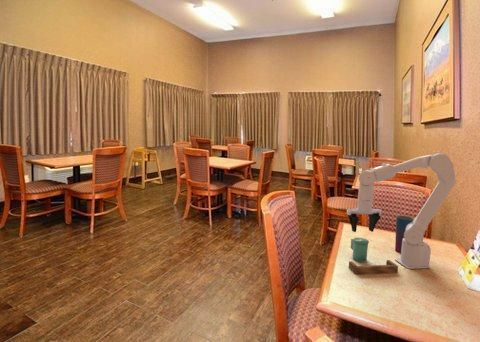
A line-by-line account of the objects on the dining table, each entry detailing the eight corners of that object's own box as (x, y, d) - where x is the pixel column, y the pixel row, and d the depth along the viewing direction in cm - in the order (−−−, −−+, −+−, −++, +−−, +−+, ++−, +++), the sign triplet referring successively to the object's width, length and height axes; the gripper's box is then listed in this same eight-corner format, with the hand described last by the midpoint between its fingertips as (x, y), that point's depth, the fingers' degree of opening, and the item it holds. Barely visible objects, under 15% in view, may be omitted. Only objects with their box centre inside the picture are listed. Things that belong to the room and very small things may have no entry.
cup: (413, 255, 123) (417, 220, 121) (395, 253, 125) (399, 219, 123) (407, 248, 130) (411, 216, 128) (390, 247, 131) (394, 214, 129)
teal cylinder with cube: (358, 253, 124) (360, 235, 123) (369, 262, 116) (371, 242, 115) (346, 253, 123) (347, 235, 122) (356, 262, 115) (358, 243, 114)
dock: (388, 266, 113) (389, 260, 112) (397, 272, 108) (398, 266, 107) (348, 267, 110) (349, 261, 110) (355, 274, 106) (356, 267, 105)
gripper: (375, 197, 126) (373, 227, 128) (344, 197, 124) (341, 228, 126) (386, 201, 119) (382, 233, 121) (352, 201, 118) (349, 234, 119)
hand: (362, 231), depth 123 cm, fingers open, 7 cm apart
